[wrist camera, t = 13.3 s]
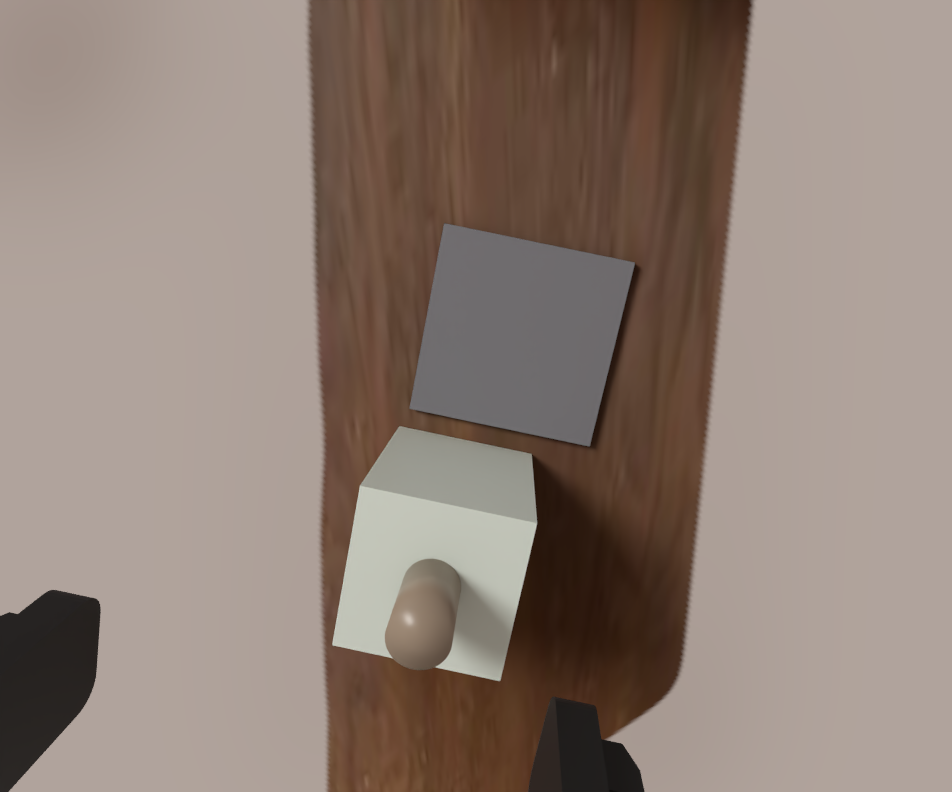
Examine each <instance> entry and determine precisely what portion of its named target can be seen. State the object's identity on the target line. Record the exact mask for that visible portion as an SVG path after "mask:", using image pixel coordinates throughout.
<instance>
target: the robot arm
mask: <svg viewBox="0 0 952 792" xmlns="http://www.w3.org/2000/svg"><path fill="white" fill-rule="evenodd" d="M99 626H100V604H99V601H98V600H97V599H95V598H90V597H86V596H80V595H76V594H71V593H67V592H62V591H57V590H50V591H48V592H46V593H45V594H43V595H42V596H41V597H39V598H38V599H37V600H35V601H34V602H33V603H32V604H30V605H29V606H28V607H26V608H25V609H24V610H23V611H21V612H20V613H19V614H14V613H10V612H9V613H7V614H4V615H2V616H0V792H9V790H10V789H11V788H12V787H13V786H14V785H15V784H16V783H17V781H18V780H19V779H20V778H21V777H22V776H23V775H24V774H25V773H26V772H27V771H28V769H29V768H30V767H31V766H32V765H33V764H34V763H35V762H36V761H37V759H38V758H39V757H40V756H41V755H42V754H43V753H44V751H46V749H47V748H48V747H49V746H50V745H51V744H52V743H53V742H54V740H56V738H57V737H58V736H59V735H60V734H61V733H62V732H63V731H64V729H65V728H66V727H67V726H68V725H69V724H70V723H71V722H72V721H73V719H74V718H75V717H76V716H77V715H78V714H79V713H80V711H81V710H82V709H83V707H84V705H85V704H86V702H87V700H88V698H89V696H90V694H91V691H92V688H93V686H94V682H95V678H96V668H97V655H98V639H99ZM528 792H644V788H643V783H642V779H641V774H640V770H639V769H638V767H637V765H636V764H635V762H634V761H633V759H632V758H631V756H630V755H629V753H628V752H627V750H626V749H625V747H624V746H623V744H621V743H616V742H611V741H607V740H602V739H601V734H600V728H599V722H598V715H597V710H596V707H595V706H594V705H590V704H586V703H581V702H576V701H571V700H567V699H562V698H557V697H552V698H551V700H550V703H549V706H548V710H547V714H546V717H545V721H544V725H543V729H542V733H541V737H540V740H539V744H538V748H537V752H536V756H535V760H534V764H533V768H532V772H531V777H530V783H529V790H528Z"/></svg>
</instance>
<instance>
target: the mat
mask: <svg viewBox="0 0 952 792" xmlns="http://www.w3.org/2000/svg"><path fill="white" fill-rule="evenodd" d="M634 265H635V263H634V262H629V261H624V260H620V259H615V258H610V257H605V256H600V255H595V254H591V253H586V252H581V251H576V250H571V249H566V248H562V247H557V246H552V245H547V244H542V243H537V242H533V241H528V240H523V239H518V238H513V237H508V236H504V235H499V234H494V233H489V232H484V231H479V230H475V229H470V228H465V227H460V226H455V225H450V224H445V223H444V227H443V232H442V237H441V243H440V248H439V254H438V259H437V264H436V270H435V275H434V280H433V286H432V291H431V296H430V302H429V307H428V313H427V318H426V323H425V329H424V334H423V339H422V345H421V350H420V355H419V361H418V366H417V371H416V377H415V382H414V388H413V393H412V398H411V404H410V409H413V410H418V411H423V412H428V413H432V414H437V415H442V416H447V417H451V418H456V419H461V420H466V421H470V422H475V423H480V424H485V425H489V426H494V427H499V428H504V429H509V430H513V431H518V432H523V433H528V434H532V435H537V436H542V437H547V438H551V439H556V440H561V441H566V442H570V443H575V444H580V445H585V446H589V447H590V443H591V439H592V435H593V431H594V427H595V423H596V419H597V415H598V411H599V407H600V403H601V399H602V395H603V391H604V387H605V383H606V379H607V375H608V371H609V366H610V362H611V358H612V354H613V350H614V346H615V342H616V338H617V334H618V330H619V326H620V322H621V318H622V314H623V310H624V306H625V302H626V298H627V294H628V290H629V286H630V281H631V277H632V273H633V269H634Z"/></svg>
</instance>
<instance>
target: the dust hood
mask: <svg viewBox="0 0 952 792" xmlns="http://www.w3.org/2000/svg"><path fill="white" fill-rule="evenodd" d="M536 526H537V514H536V501H535V489H534V476H533V464H532V454H530V453H525V452H520V451H515V450H511V449H506V448H501V447H496V446H492V445H487V444H482V443H477V442H473V441H468V440H463V439H458V438H453V437H449V436H444V435H439V434H434V433H430V432H425V431H420V430H415V429H411V428H406V427H401V426H399V428H398V429H397V431H396V432H395V434H394V435H393V437H392V438H391V440H390V441H389V443H388V444H387V446H386V447H385V449H384V450H383V452H382V453H381V455H380V456H379V458H378V459H377V461H376V462H375V464H374V465H373V467H372V468H371V470H370V471H369V473H368V475H367V476H366V478H365V479H364V481H363V482H362V484H361V485H360V489H359V495H358V501H357V506H356V512H355V518H354V523H353V529H352V535H351V541H350V546H349V552H348V558H347V563H346V569H345V575H344V581H343V586H342V592H341V598H340V604H339V609H338V615H337V621H336V626H335V632H334V638H333V644H332V645H334V646H339V647H343V648H348V649H353V650H357V651H362V652H367V653H371V654H376V655H381V656H385V657H390V658H393V659H394V660H395V661H396V662H398V663H399V664H401V665H402V666H404V667H407V668H410V669H414V670H427V669H431V668H434V667H437V668H441V669H446V670H451V671H455V672H460V673H465V674H469V675H474V676H479V677H483V678H488V679H492V680H497V681H500V679H501V675H502V671H503V666H504V662H505V658H506V654H507V649H508V645H509V641H510V637H511V633H512V628H513V624H514V620H515V616H516V611H517V607H518V603H519V599H520V594H521V590H522V586H523V582H524V577H525V573H526V569H527V565H528V560H529V556H530V552H531V548H532V543H533V539H534V535H535V531H536Z"/></svg>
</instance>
